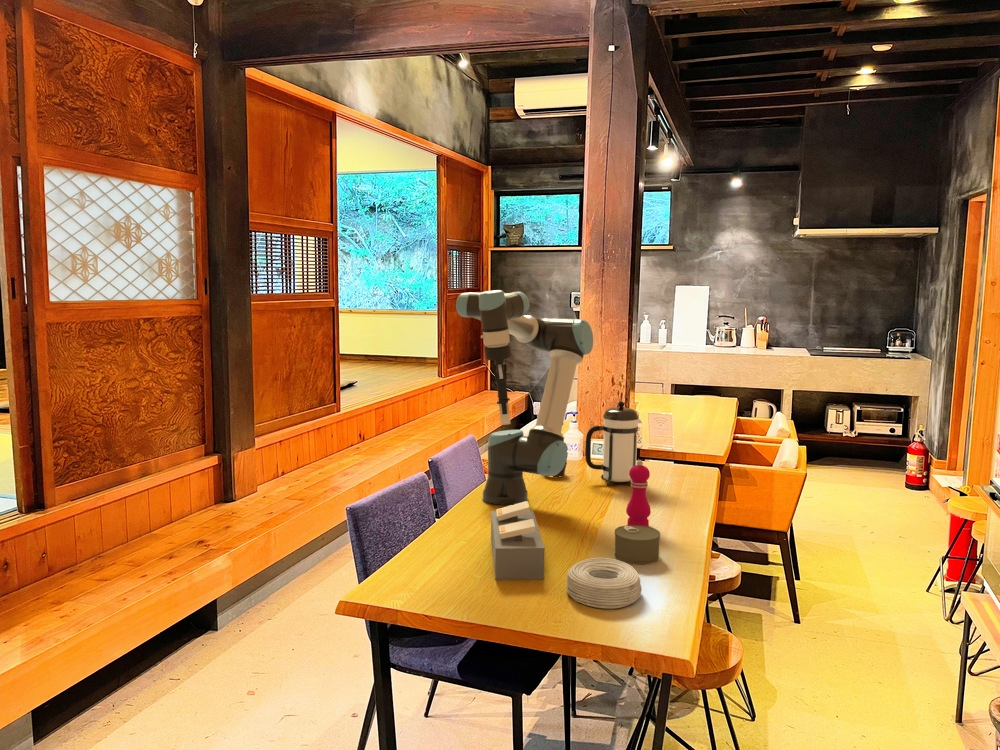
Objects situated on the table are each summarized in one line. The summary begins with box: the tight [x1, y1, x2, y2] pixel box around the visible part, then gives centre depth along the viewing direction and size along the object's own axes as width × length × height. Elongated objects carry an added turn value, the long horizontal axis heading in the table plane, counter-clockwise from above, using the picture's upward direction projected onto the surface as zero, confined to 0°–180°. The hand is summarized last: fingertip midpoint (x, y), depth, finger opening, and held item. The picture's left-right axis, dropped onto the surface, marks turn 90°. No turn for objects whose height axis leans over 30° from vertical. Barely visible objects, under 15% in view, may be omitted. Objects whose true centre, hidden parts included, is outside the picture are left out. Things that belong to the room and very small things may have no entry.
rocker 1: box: [495, 500, 531, 521], centre depth 204 cm, size 6×9×2 cm, turn 93°
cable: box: [566, 557, 642, 610], centre depth 174 cm, size 18×18×6 cm
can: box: [614, 524, 661, 566], centre depth 198 cm, size 12×12×7 cm
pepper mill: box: [625, 459, 652, 527], centre depth 223 cm, size 7×7×20 cm
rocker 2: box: [499, 519, 536, 539], centre depth 189 cm, size 6×9×2 cm, turn 93°
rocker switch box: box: [490, 510, 546, 581], centre depth 200 cm, size 36×12×9 cm, turn 3°
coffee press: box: [585, 400, 643, 487], centre depth 270 cm, size 17×16×30 cm
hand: (505, 423), depth 218 cm, fingers closed
